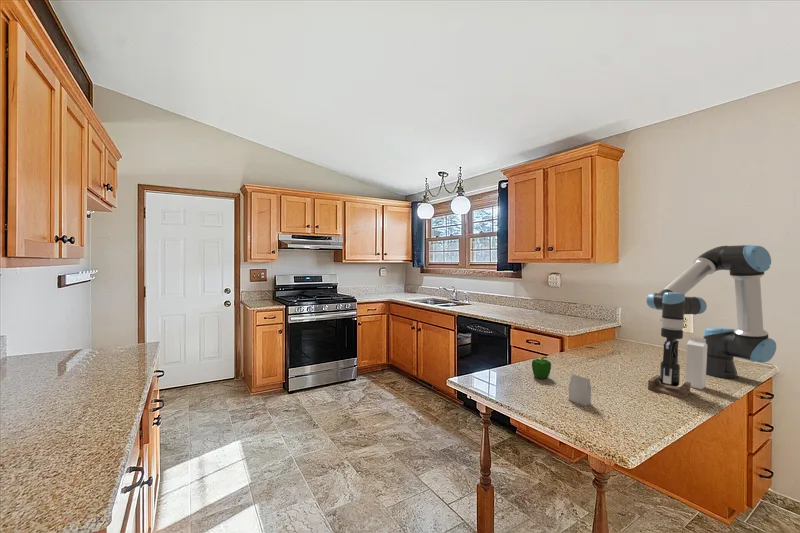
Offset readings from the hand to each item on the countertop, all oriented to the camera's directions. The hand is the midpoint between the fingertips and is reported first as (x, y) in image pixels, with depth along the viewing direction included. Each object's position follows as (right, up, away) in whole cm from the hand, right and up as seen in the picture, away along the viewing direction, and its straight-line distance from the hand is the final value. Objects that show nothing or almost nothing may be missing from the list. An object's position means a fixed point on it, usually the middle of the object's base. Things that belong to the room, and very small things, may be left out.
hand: (669, 381), depth 157 cm
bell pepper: (-50, -2, +13) cm, 52 cm away
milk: (+17, -5, +7) cm, 19 cm away
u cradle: (0, -4, 0) cm, 4 cm away
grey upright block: (-46, -3, -16) cm, 49 cm away
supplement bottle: (0, -1, 0) cm, 1 cm away
